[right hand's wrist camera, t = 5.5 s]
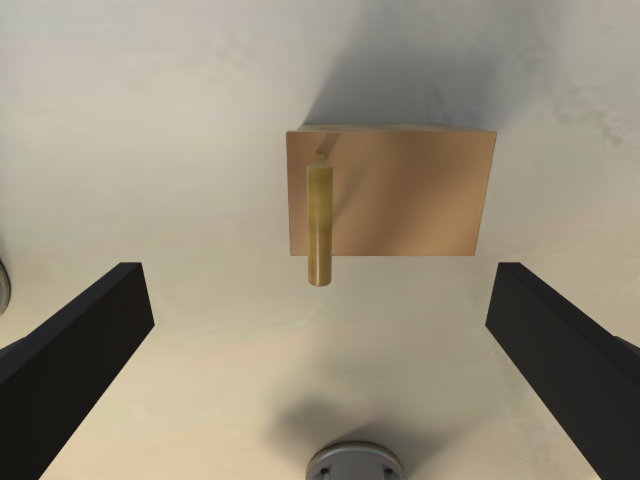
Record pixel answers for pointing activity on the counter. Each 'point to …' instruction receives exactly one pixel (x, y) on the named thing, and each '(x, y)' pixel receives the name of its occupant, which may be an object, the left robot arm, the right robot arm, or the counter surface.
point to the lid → (385, 194)
